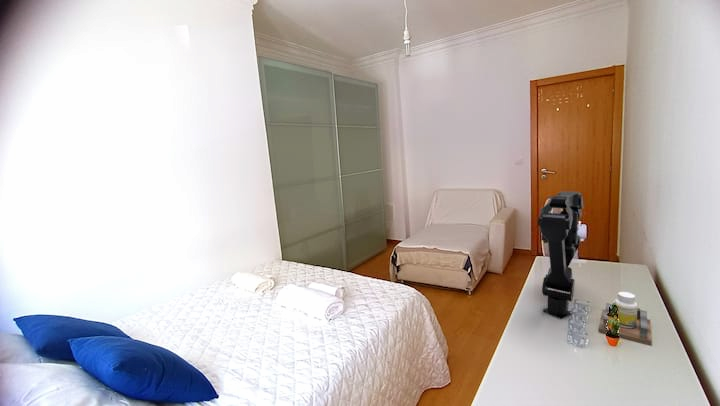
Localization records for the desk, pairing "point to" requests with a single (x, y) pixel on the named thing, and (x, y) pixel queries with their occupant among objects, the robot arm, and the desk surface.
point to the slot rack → (635, 334)
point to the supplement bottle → (626, 309)
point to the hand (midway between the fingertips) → (566, 265)
